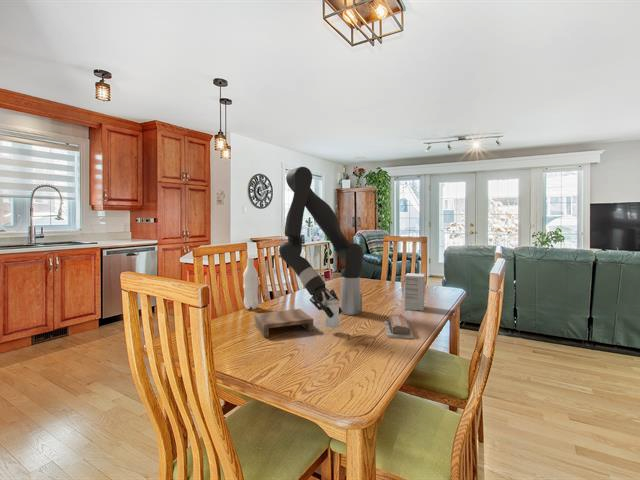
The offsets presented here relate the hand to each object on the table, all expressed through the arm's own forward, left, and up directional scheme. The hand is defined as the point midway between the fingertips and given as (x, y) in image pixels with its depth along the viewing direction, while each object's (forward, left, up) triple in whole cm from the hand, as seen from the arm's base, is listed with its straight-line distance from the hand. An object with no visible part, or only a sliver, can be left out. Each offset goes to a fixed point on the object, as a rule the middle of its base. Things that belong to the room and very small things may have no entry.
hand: (336, 314), depth 137 cm
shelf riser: (+17, -14, -8) cm, 24 cm away
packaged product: (-24, +6, -8) cm, 26 cm away
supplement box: (-52, -19, -8) cm, 56 cm away
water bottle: (+23, -50, -8) cm, 56 cm away
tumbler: (+1, -2, -5) cm, 5 cm away
